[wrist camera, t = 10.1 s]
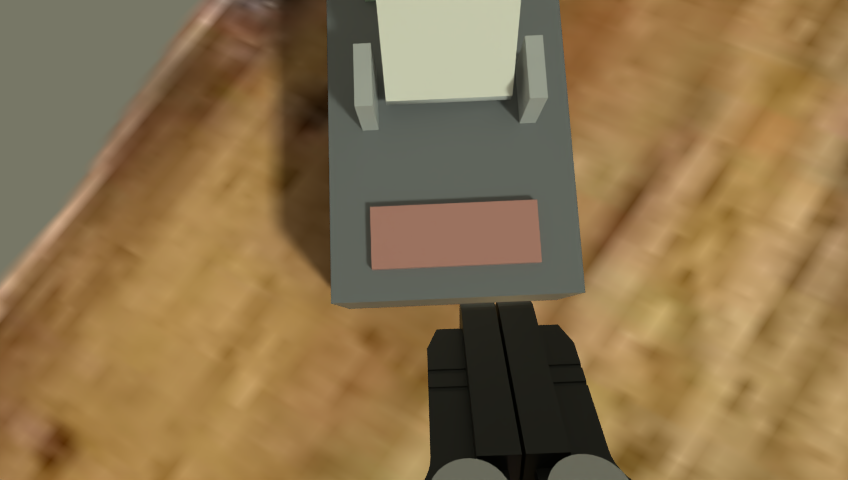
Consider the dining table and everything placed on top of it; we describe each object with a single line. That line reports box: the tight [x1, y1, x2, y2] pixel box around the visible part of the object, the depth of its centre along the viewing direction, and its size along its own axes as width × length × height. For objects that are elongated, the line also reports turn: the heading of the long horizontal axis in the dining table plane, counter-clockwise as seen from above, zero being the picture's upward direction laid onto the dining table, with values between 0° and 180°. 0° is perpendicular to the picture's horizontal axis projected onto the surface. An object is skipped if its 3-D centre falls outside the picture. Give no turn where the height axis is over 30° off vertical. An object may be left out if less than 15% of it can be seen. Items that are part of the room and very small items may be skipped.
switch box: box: [327, 0, 585, 309], centre depth 29 cm, size 20×12×9 cm, turn 2°
